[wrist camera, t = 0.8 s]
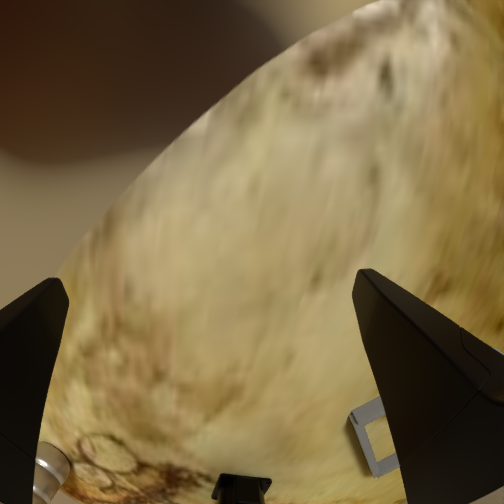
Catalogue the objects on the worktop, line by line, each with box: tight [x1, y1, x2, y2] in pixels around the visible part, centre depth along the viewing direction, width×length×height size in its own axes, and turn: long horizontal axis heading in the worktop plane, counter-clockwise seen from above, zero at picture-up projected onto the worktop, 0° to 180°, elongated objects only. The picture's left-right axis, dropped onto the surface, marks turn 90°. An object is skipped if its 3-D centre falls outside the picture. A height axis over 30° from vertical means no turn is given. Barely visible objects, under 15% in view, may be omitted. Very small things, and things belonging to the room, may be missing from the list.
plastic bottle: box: [33, 442, 70, 504], centre depth 18 cm, size 6×7×20 cm
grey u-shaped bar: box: [349, 397, 400, 478], centre depth 28 cm, size 10×14×2 cm
